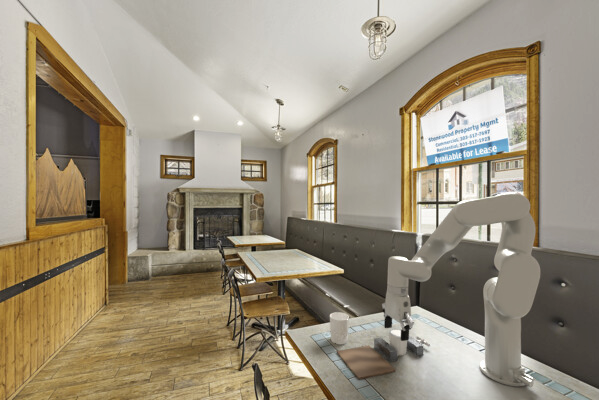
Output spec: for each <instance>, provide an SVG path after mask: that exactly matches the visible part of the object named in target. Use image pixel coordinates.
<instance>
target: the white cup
mask: <svg viewBox="0 0 599 400" xmlns="http://www.w3.org/2000/svg"><path fill="white" fill-rule="evenodd" d="M349 324H350V316H349V314H347V313H345V312H343V311H342V312H340V311H335V312H332V313H330V314H329V327H330V328H329V329H330V340H331V342H332V343H333V344H335V343H336V345H345V344H347V343H348V340H349V339H348V338H349V337H348V336H349Z"/></svg>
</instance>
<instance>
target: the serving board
mask: <svg viewBox="0 0 599 400" xmlns="http://www.w3.org/2000/svg"><path fill="white" fill-rule="evenodd" d="M336 354H337V355H338V357H340V359H341V360H342V361H343V362H344V364H346V366H347V367H348V368H349V370H350V371H351V372H352V373H353V375H354V376H355V377H356V378H357V380H362V379H363V380H365V379H367V378H368V379H369V378H371V377H372V378H373V377H376V376H382V375H386V374H389V373H394V372H396V369H395V367H393V366H392V365H391V363H389V361H387V359H386V358H383V356H382V355H380V354H379V352H377V350H376V349H375V348H374V347H372V346H371V345H369V344H368V345H363V346H359V347H352V348H347V349H342V350H336Z"/></svg>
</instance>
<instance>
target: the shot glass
mask: <svg viewBox="0 0 599 400" xmlns="http://www.w3.org/2000/svg"><path fill="white" fill-rule="evenodd" d="M401 330H402V329H399V328H392V329H389V331H388V336H389V344H390V345H391V346H392V347H393V348H395V349H396V350H397V356H404V355H406V354H407V350H408V349H407V340H406V341H401Z"/></svg>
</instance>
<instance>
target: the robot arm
mask: <svg viewBox="0 0 599 400" xmlns="http://www.w3.org/2000/svg"><path fill="white" fill-rule="evenodd" d="M530 211H531V203H530V201H529V199H528V198H527V197H526V196H525V195H523V194H521V193H518V192H506V193H505V192H504V193H499V194H496V195H494V196H487V197H482V198H475V199H469V200H461V201H458V202H457V203H456V204H455V205H454V206H453V207H452V209H451V210H450V211H449V212H448V213H447V215H446V216H445V217H444V218H443V220H442V221H441V222H440V224H439V225H438V226H437V227H436V229H434V231H433V232H432V234H430V235H429V237H428V239H427V240H426V241H425V242H424V244H423V245H422V246H421V247H420V249H418V250H417V252H416V254H415V255H414V256H413V257H412V258H411V260H409V259H408V258H407V257H404V256H400V255H398V256H397V255H396V256H395V255H394V256H390V257H388V261H387V286H386V287H387V289H386V293H385V301H384V303H382V304H381V306H382V312H383V318H384V324H383V325H384V326H383V327H384V328H385V329H390V328H392V329H393V320H394V321H396V322H397V323H398V324H400V327H401V329H400V330H401V341H406V340H409V336H410V330H411V329H413V326H414V325H415V321H414V319H412V307H411V306H412V305H411V299H410V296H409V280H413V281H417V282H421V283H422V282H427V281H428V280H430V278H431V276H432V268H433V267H434V266H435V265H436V263H437V262H438V261H439V259H440V258H442V256H443V255H445V254H446V253H447V252H450V251H452V250H454V249H455V248H456V247H457V246H458V245H459V243H461V241H462V240H463V238H464V237H465V236H466V235H467V234H468V233H469V231H470V230H471V229H472V228H473V227H478V226H488V225H494V224H495V225H496V224H501V234H500V237H499V242H498V246H497V248H496V253H495V255H494V259H493V262H494V263H493V264H494V267H495V268H496V270H497V271H498V275H497V276H496V277H491V278H489V279H488V280H487V281H486V282H485V284H484V285H483V293H482V294H483V304H484V359H483V360H481V361H480V362H479V369H480V371H481V372H482V374H484V375H485V376H486V377H488V378H490V379H492V380H493V381H495V382H497V383H499V384H503V385H506V386H509V387H510V386H511V387H519V388H520V387H524V386H527V387H529V388H533V387H534V381H535V378H534V377H533V376H531V375H529V374H527V373H526V368H525V366H522V340H521V339H522V336H521V335H522V334H521V333H522V319H521V318H523V317H525V316H527V314H528V313H529V312H530V311H531V309H532V306H533V303H534V300H535V297H536V295H537V294H536V293H537V289H538V287H539V283H540V280H541V267H540V264H539V262H538V260H537V259H536V258H535V257H534V256H532V251H533V247H534V242H535V237H536V224H535V223H536V222H535V220H534V218H533V217H532V214H531V213H530Z"/></svg>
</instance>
